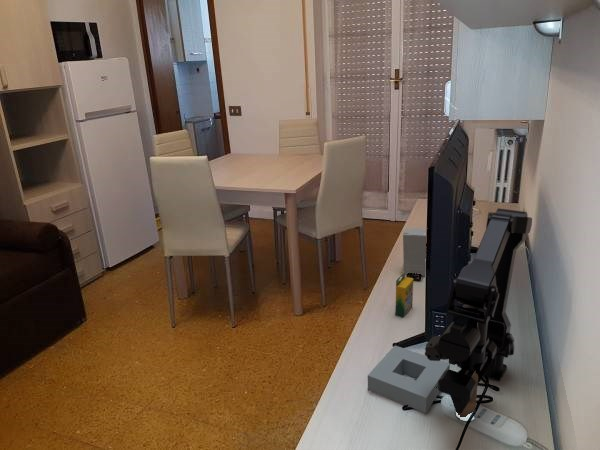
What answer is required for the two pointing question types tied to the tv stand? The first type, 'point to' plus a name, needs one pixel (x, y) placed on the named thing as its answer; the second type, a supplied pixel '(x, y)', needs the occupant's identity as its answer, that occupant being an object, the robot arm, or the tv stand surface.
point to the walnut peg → (472, 402)
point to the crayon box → (403, 295)
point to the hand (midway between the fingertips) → (466, 399)
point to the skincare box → (414, 250)
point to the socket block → (402, 388)
